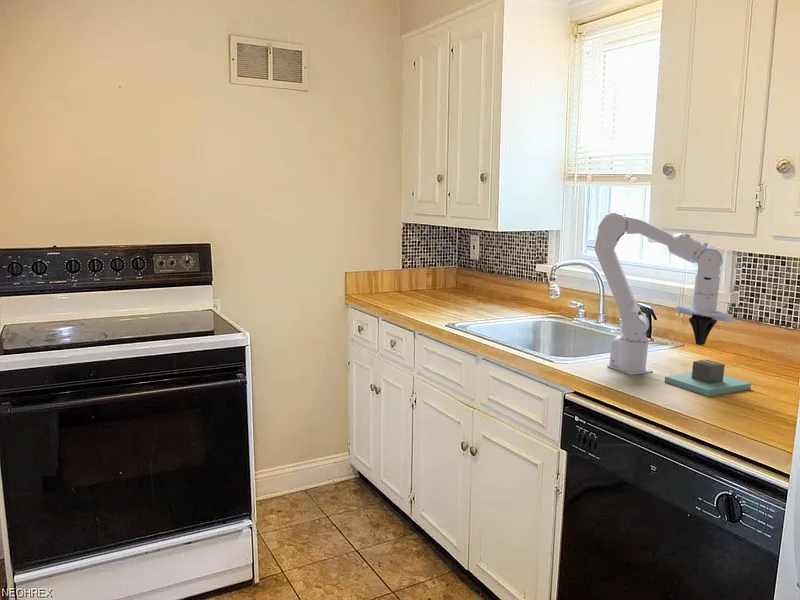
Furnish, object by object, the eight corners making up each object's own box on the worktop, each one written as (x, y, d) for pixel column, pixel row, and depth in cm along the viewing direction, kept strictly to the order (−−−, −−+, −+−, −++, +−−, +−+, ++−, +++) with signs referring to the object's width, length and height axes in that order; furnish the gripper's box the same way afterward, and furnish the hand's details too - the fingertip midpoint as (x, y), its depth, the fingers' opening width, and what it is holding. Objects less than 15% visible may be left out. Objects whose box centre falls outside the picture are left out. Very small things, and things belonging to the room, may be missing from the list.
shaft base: (664, 381, 168) (666, 365, 167) (705, 375, 175) (707, 359, 174) (708, 396, 156) (710, 378, 155) (750, 389, 163) (752, 371, 163)
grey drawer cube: (691, 378, 166) (693, 360, 165) (705, 376, 169) (707, 358, 168) (709, 383, 162) (711, 365, 161) (722, 381, 164) (724, 363, 163)
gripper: (671, 290, 171) (666, 340, 174) (724, 298, 160) (718, 352, 162) (686, 289, 175) (681, 337, 178) (739, 297, 164) (733, 349, 166)
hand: (700, 344), depth 170 cm, fingers closed
